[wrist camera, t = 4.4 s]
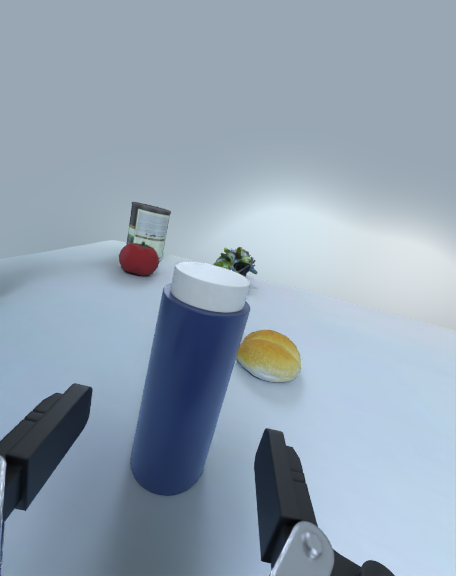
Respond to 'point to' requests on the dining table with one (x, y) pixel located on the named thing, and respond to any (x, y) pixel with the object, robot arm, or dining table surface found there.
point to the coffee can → (148, 226)
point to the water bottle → (188, 374)
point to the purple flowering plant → (236, 261)
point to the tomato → (139, 259)
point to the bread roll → (270, 356)
